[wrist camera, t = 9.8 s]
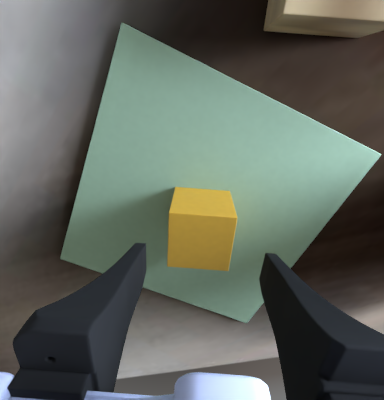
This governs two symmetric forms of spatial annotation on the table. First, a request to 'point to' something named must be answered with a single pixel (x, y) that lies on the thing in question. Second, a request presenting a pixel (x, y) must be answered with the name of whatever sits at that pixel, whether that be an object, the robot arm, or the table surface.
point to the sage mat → (203, 173)
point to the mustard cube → (201, 229)
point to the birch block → (325, 17)
